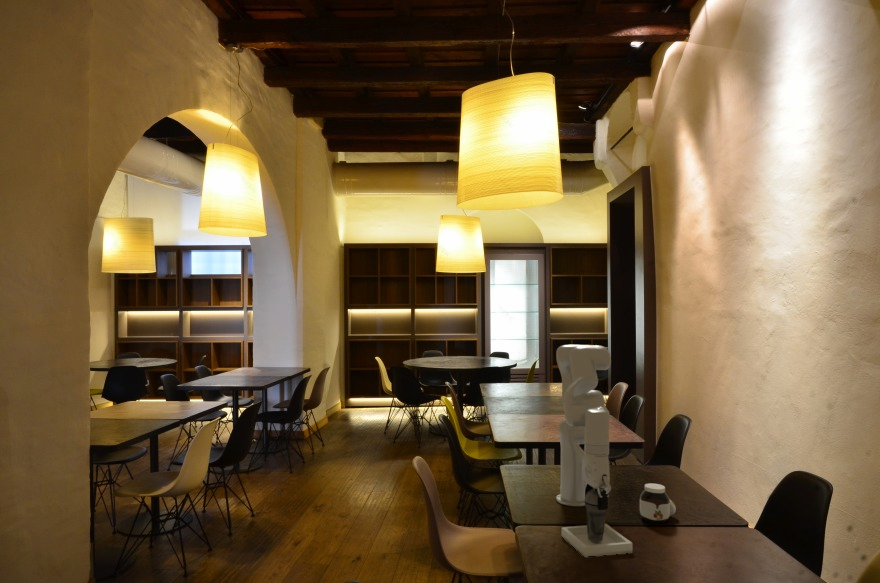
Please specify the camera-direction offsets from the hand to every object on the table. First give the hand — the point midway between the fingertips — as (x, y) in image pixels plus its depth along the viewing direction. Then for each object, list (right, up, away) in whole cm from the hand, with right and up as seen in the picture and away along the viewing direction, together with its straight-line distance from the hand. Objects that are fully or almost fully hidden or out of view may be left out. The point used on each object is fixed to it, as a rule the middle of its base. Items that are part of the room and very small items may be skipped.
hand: (596, 504), depth 188 cm
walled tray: (0, -12, 0) cm, 12 cm away
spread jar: (+28, -13, +24) cm, 39 cm away
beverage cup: (0, -11, 0) cm, 11 cm away
